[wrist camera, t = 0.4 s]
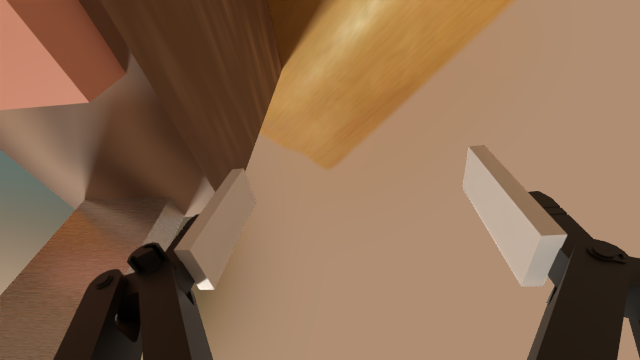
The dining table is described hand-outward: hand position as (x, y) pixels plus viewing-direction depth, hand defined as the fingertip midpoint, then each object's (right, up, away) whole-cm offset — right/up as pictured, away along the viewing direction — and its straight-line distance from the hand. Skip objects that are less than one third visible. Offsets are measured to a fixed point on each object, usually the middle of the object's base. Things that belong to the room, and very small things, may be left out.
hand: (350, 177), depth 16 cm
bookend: (-18, -3, +7) cm, 19 cm away
